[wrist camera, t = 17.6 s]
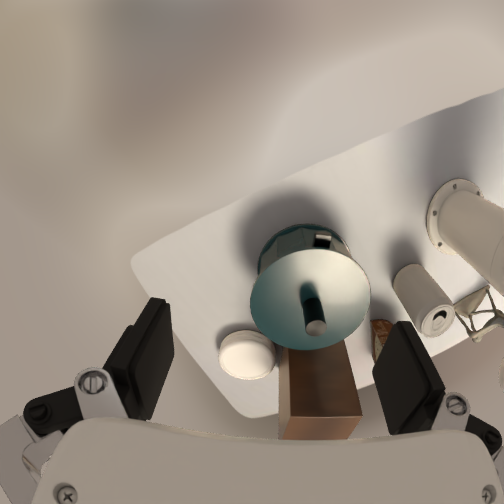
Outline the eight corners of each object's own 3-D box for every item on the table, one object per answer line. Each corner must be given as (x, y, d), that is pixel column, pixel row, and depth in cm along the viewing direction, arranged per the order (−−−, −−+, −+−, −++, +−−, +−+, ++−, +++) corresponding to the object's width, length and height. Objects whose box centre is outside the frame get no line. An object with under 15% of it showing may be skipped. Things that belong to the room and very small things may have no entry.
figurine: (448, 328, 47) (480, 379, 34) (448, 304, 45) (486, 356, 31) (487, 308, 45) (523, 352, 31) (490, 284, 43) (530, 327, 29)
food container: (400, 352, 50) (416, 388, 41) (372, 361, 51) (384, 399, 42) (401, 304, 45) (423, 341, 36) (369, 314, 47) (386, 353, 37)
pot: (362, 221, 40) (383, 245, 32) (337, 317, 47) (347, 354, 39) (263, 208, 40) (261, 231, 32) (252, 310, 47) (248, 347, 39)
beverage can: (427, 260, 42) (462, 300, 31) (420, 294, 44) (449, 337, 33) (394, 262, 42) (426, 304, 31) (388, 296, 45) (414, 343, 34)
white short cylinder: (210, 338, 51) (207, 351, 48) (261, 321, 48) (260, 335, 45) (236, 372, 54) (234, 385, 51) (283, 359, 52) (284, 372, 49)
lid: (383, 254, 32) (398, 274, 28) (351, 349, 39) (358, 375, 34) (256, 239, 33) (253, 259, 28) (246, 342, 39) (242, 369, 34)
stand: (342, 333, 49) (363, 416, 32) (328, 371, 53) (340, 448, 36) (287, 329, 49) (290, 416, 32) (278, 368, 53) (278, 448, 37)
